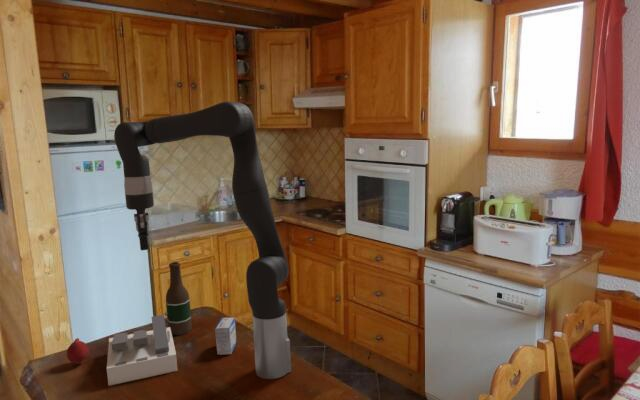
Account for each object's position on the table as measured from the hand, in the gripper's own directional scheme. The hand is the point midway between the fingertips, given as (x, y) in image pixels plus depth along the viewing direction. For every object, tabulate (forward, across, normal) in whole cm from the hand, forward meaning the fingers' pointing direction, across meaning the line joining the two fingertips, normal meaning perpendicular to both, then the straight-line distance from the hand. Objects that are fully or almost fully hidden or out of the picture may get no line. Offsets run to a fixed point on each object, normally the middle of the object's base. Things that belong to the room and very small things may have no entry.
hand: (144, 249), depth 138 cm
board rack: (+33, -4, +4) cm, 33 cm away
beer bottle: (+33, +13, -9) cm, 37 cm away
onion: (+33, +3, +21) cm, 39 cm away
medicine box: (+33, -7, -21) cm, 40 cm away
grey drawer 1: (+25, -4, -2) cm, 26 cm away
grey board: (+25, -4, +9) cm, 27 cm away
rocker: (+25, -4, +4) cm, 26 cm away
